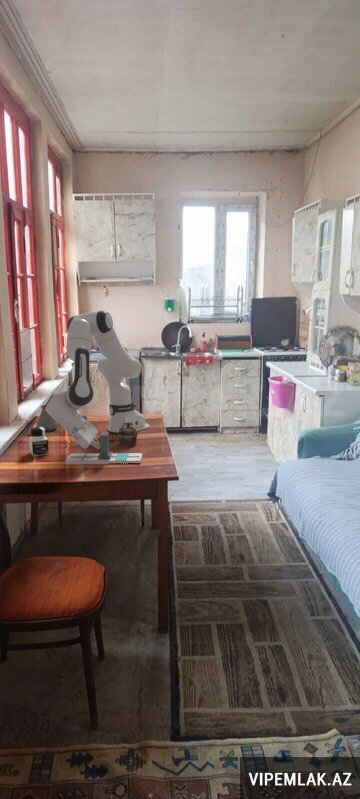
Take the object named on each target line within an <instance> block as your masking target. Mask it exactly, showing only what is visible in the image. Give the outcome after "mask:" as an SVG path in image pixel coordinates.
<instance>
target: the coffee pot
mask: <svg viewBox="0 0 360 799" xmlns="http://www.w3.org/2000/svg"><path fill="white" fill-rule="evenodd" d="M45 405H46V404H43V405H40V408H41V412H40V415H39V418H38V420H37V423H36V427H43V428H44V429H45V432H51V431H55V430H56V429H57V428H58V426H59V425H60V423H58V422H56V421H55V420H54V419H53V418H52V417H51V416H50V415H49V414H48V413H47V411H46V410H45Z"/></svg>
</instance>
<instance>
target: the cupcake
mask: <svg viewBox="0 0 360 799" xmlns="http://www.w3.org/2000/svg"><path fill="white" fill-rule="evenodd" d="M138 432H139V431H137V430H136V428H135V427H134V424H133V422H130V423H123V424H122V427H121V428H120V429H119V433H117V437H118V442H119V445H121V446H126V447H127V446H134V445H137V441H138V434H139V433H138Z"/></svg>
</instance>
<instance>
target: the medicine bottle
mask: <svg viewBox="0 0 360 799" xmlns="http://www.w3.org/2000/svg"><path fill="white" fill-rule="evenodd" d="M28 444H29V453H30V455H31V456H32V457H38V456H39V457H40V456H47V455H50V450H49V449H50V448H49V439H48V438H47V437H46V431H45V429H44V428H43V427H37V426H35V427H33V428H31V429H30V437H28Z"/></svg>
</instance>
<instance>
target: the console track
mask: <svg viewBox="0 0 360 799" xmlns="http://www.w3.org/2000/svg"><path fill="white" fill-rule="evenodd" d="M99 454H100V452H98V453H97V452H96V453H93V452H92V453H91V452H90V453H87V452H86V453H83V452H82V453H70V454H69V455H68V456H67V457H66V459H65V461H64V464H65V465H110V464H109V463H121V464H120V465H129V464H128V463H142V461H141V460H143V457H144V456H143V455H144V454H143V452H137V453H136V452H133V453H131V452H130V453H129V452H119V453H118V452H115V453H114V452H112V455H111V457H110V458H99V459H98V456H99ZM122 463H123V464H122ZM124 463H125V464H124ZM126 463H127V464H126Z"/></svg>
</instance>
